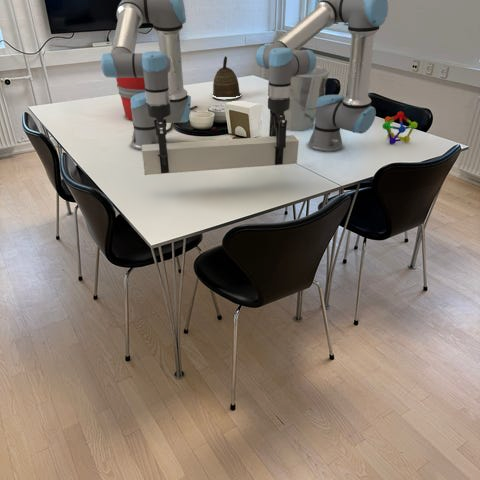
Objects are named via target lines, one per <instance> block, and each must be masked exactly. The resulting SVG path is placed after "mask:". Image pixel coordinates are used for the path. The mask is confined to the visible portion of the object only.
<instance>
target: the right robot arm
mask: <svg viewBox="0 0 480 480" xmlns="http://www.w3.org/2000/svg"><path fill="white" fill-rule="evenodd" d="M388 12H389V2H388V0H319V2H318V3H316V5H315V6H314V8H313V10H312V11H311V12H309V14H307V15H306V16H305V17H303V19H301V20H300V21H298V23H297V24H295V25H294V26H293V27H292V28H290V29H289V30H288V31H287V32H285V34H283V35H282V36H281V37H280V38H278V39H277V40H276V41H274V42H273V43H272V44H271V45H268V44H267V45H261V46H259V47H258V49H257V51H256V54H255V61H256V64H257V65H258V66H259V67H261V68H264V69H266V70H268V84H267V96H268V97H267V109H268V110H269V132H268V137H273V136H276V145H277V146H276V147H275V165H274V166H282V165H281V164H283V148H285V147H286V136H287V129H286V125H287V120H285V115H284V111H286V110H288V109H289V107H290V98H289V97H290V90H291V89H292V87H291V77H293V76H297V75H302V74H306V73H309V72H311V71H313V70H314V68H315V66H317V57H316V54H315V53H314V51H312V50H310V49H302V48H303V47H304V46H306V44H307V43H308V42H310V41H311V40H312V39H314V38H315V37H316V36H317V35H318V34H319V33H321V32H322V31H323V30H324V29H326V28H330V27H332V26H333V25H335V24H337V23H343V24H344V23H345V24H347V31H348V33H350V36H351V37H350V48H349V62H348V75H347V88H346V89H347V90H346V96H344V95H343V94H325V96H324V95H322V96H321V97H319V98H318V100H317V105H316V115H315V120H314V127H313V128H314V129H313V132H312V133H311V136H310V138H309V140H308V147H309V148H310V149H312V150H314V151H316V152H317V151H318V152H323V153H324V152H325V153H333V152H338V151H340V150H341V149H342V148H343V139H342V136H341V130H345V131H348V132H352V133H354V134H365V133H366V132H367V131H369V130H370V128H371V127H372V125H373V123H374V121H375V118H376V114H377V111H376V108H375V107H374V106H372V99H371V98H370V96H369V91H370V80H371V71H372V64H373V63H372V61H373V53H374V43H375V42H374V41H375V34H376V33H377V32H379V30H380V26H382V25H383V24H385V22H386V20H387V19H386V18H387V17H388ZM300 49H302V50H300Z"/></svg>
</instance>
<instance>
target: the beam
mask: <svg viewBox="0 0 480 480" xmlns="http://www.w3.org/2000/svg"><path fill="white" fill-rule="evenodd" d="M166 146H167V153H168V166H169V173H168V174H177V173H178V174H179V173H189V172H190V173H191V172H192V173H193V172H202V171H203V172H204V171H217V170H229V169H230V170H231V169H243V168H244V169H246V168H257V167H258V168H259V167H271V166H276V165H275V147H276V146H277V145H276V136H273V137H270V136H260V137H259V136H258V137H244V138H228V139H211V140H196V141H181V142H166ZM298 151H299V139H298V138H297V137H296V136H295V135H294V134H292V135H286V147H285V148H283V164H281V165H280V166H285V165H297V163H298ZM141 154H142V162H143V170H144V175H145V176H151V175H164V174H166V173H161V165H160V156H158V155H159V154H160V151H159V144H148V145H142V150H141Z"/></svg>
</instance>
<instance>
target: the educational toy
mask: <svg viewBox="0 0 480 480" xmlns="http://www.w3.org/2000/svg"><path fill="white" fill-rule="evenodd" d="M397 119H399V124H400V125H399V127H398V126H393V125H391V124H392V123H394V122H395V121H396V120H397ZM403 120H404V121H405V122H407V123H408V124H409V125H407V126H404V123H403ZM417 127H418V122H417V121H411V120H410V119H409V118H408V117H406V116H405V113H404V112H403V111H401V110H400V111H398V112H397V114H396V115H394V116H391V117H390V116H386V117H385V118H384V122H383V123H382V129H383V130H386V132H387V138H388V142H389V145H395V144H396V143H397V142H402V141H403V142H404V143H409V142H410V140H411V138H410V136H411V134H412V132H413V131H414V130H415V129H417ZM392 129H393V130H397V131H398V132H396V134H395V133H394V132H392ZM408 129H409V131H408V133H407V134H406V135H404V136H401V134H403V133H405V132H406V130H408ZM399 135H400V136H399Z"/></svg>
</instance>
